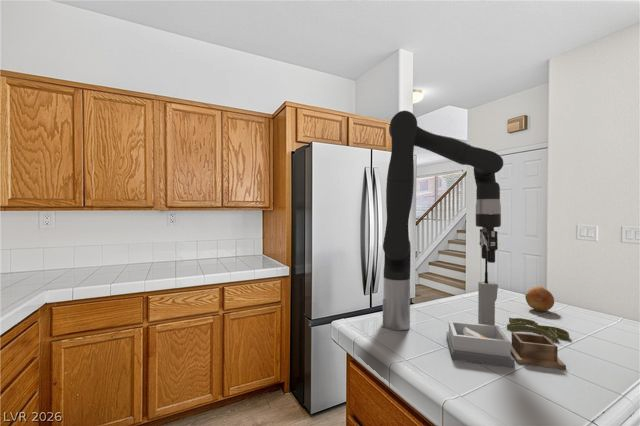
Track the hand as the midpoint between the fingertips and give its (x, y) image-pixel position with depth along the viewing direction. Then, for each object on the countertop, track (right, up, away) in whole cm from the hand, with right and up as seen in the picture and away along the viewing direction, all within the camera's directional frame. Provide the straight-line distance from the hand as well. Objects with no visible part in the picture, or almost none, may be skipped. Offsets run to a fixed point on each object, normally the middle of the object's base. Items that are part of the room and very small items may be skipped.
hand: (488, 260), depth 102 cm
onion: (+34, -25, +23) cm, 48 cm away
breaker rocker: (-11, -20, -14) cm, 27 cm away
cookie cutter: (+17, -25, +1) cm, 30 cm away
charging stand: (+3, -24, -18) cm, 30 cm away
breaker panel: (-11, -24, -14) cm, 30 cm away
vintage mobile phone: (0, -24, 0) cm, 25 cm away
